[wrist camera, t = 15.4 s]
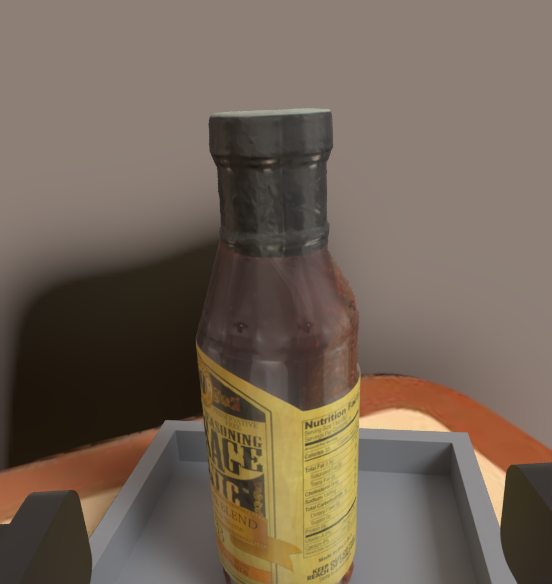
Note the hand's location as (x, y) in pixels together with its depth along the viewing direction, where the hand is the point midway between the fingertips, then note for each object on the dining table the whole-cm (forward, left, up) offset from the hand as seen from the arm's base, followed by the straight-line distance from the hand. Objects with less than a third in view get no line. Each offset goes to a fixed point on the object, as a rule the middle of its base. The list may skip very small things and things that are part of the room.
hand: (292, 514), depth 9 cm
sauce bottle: (-2, +10, -13) cm, 16 cm away
